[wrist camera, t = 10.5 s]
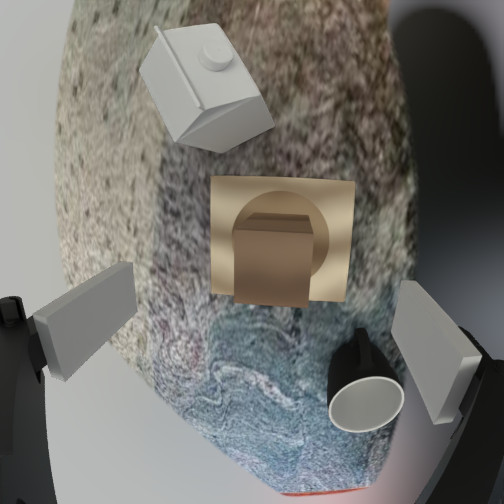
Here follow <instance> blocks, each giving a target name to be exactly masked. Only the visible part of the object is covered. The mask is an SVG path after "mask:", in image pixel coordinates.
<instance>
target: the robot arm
mask: <svg viewBox="0 0 504 504" xmlns="http://www.w3.org/2000/svg"><path fill="white" fill-rule="evenodd" d="M137 312H138V310H137V302H136V293H135V284H134V274H133V263H132V262H122V261H120V262H118V263H116V264H115V265H113V266H111V267H109V268H108V269H106V270H104V271H102V272H101V273H99V274H97V275H96V276H94V277H92V278H90V279H89V280H87V281H85V282H84V283H82V284H80V285H79V286H77V287H75V288H74V289H72V290H70V291H69V292H67V293H65V294H64V295H62V296H61V297H59V298H57V299H56V300H54V301H52V302H51V303H49V304H48V305H46V306H45V307H43V308H41V309H40V310H38V311H36V312H35V313H33V315H32V316H31V317H29V318H28V319H26V315H25V311H24V307H23V303H22V299H21V298H20V297H17V296H9V297H5V298H2V299H0V504H57V500H56V495H55V490H54V484H53V479H52V472H51V466H50V458H49V450H48V441H47V429H46V414H45V385H44V384H45V376H44V373H43V371H42V368H43V367H44V366H46V365H48V368H49V371H50V373H51V376H52V377H54V378H56V379H59V380H62V381H64V382H66V381H67V380H68V379H69V378H70V377H71V376H72V374H74V373H75V372H76V371H77V370H78V369H79V368H80V367H81V366H82V365H83V364H84V363H85V362H86V361H87V360H88V359H89V358H90V357H91V356H92V355H93V354H94V353H95V352H96V351H97V350H98V349H99V348H100V347H101V346H102V345H103V344H104V343H105V342H106V341H107V340H109V339H110V338H111V337H112V336H113V335H114V334H115V333H116V332H117V331H118V330H119V329H120V328H121V327H122V326H123V325H124V324H125V323H126V322H127V321H128V320H129V319H131V318H132V317H133V316H134V315H135V314H136V313H137ZM391 334H392V335H393V337H394V339H395V341H396V343H397V345H398V347H399V349H400V351H401V354H402V356H403V358H404V360H405V362H406V364H407V366H408V368H409V370H410V372H411V374H412V376H413V379H414V381H415V383H416V385H417V387H418V390H419V392H420V394H421V396H422V398H423V400H424V403H425V405H426V408H427V409H428V412H429V415H430V417H431V419H432V422H433V424H442V423H448V422H452V421H453V419H454V417H455V415H456V413H457V411H458V409H459V410H460V412H461V414H462V415H463V417H462V419H461V421H460V422H459V424H458V426H457V428H456V430H455V431H454V433H453V435H452V436H451V438H450V439H451V441H450V443H449V445H448V447H447V449H446V451H445V453H444V455H443V457H442V459H441V460H440V462H439V464H438V466H437V468H436V469H435V471H434V473H433V475H432V477H431V478H430V480H429V481H428V483H427V485H426V486H425V488H424V489H423V491H422V493H421V494H420V496H419V497H418V499H417V500H416V502H415V503H414V504H488V501H489V498H490V496H491V493H492V490H493V488H494V485H495V482H496V479H497V476H498V472H499V470H500V467H501V463H502V459H503V456H504V360H493V359H492V358H491V357H490V356H489V354H488V353H487V352H486V351H485V350H484V348H483V347H482V346H481V345H480V344H479V343H478V342H477V340H475V338H474V337H473V336H472V335H471V334H470V332H468V331H467V330H465V329H464V328H462V327H460V326H457V325H456V324H455V323H454V322H453V321H452V320H451V318H450V317H449V316H448V315H447V314H446V313H445V312H444V311H443V310H442V309H441V307H440V306H439V305H438V304H437V303H436V302H435V301H434V300H433V299H432V298H431V297H430V296H429V294H428V293H427V292H426V291H425V290H424V289H423V288H422V287H421V286H420V285H419V284H418V283H417V282H416V281H404V280H401V286H400V291H399V297H398V302H397V307H396V311H395V316H394V321H393V325H392V329H391ZM502 504H504V480H503V495H502Z"/></svg>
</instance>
